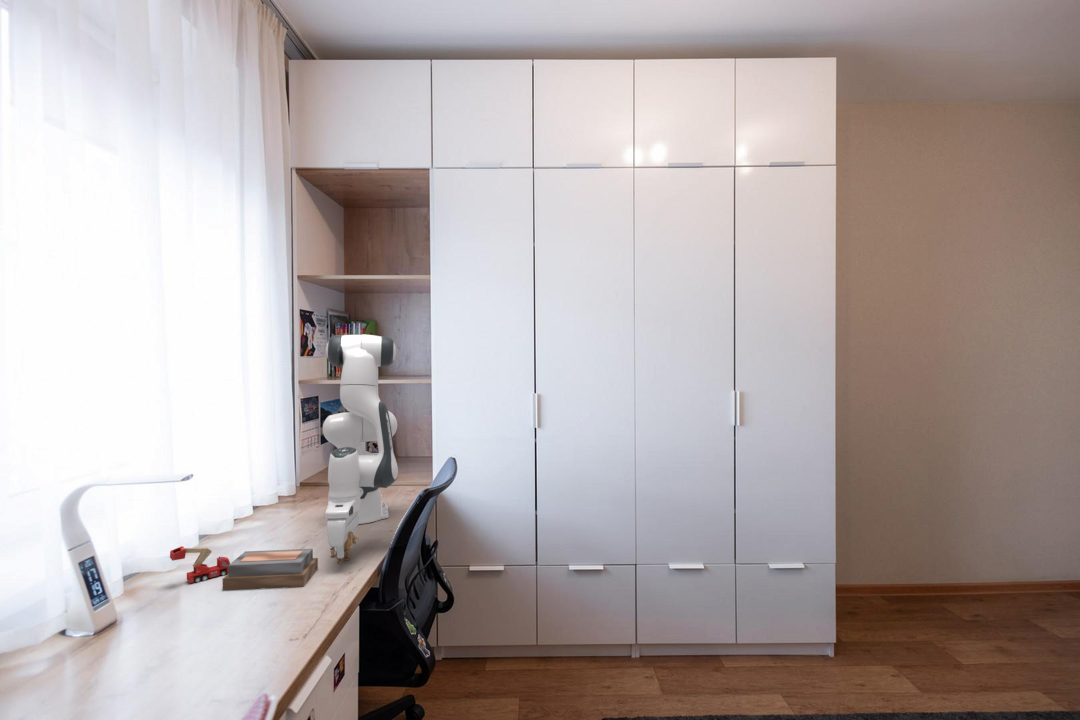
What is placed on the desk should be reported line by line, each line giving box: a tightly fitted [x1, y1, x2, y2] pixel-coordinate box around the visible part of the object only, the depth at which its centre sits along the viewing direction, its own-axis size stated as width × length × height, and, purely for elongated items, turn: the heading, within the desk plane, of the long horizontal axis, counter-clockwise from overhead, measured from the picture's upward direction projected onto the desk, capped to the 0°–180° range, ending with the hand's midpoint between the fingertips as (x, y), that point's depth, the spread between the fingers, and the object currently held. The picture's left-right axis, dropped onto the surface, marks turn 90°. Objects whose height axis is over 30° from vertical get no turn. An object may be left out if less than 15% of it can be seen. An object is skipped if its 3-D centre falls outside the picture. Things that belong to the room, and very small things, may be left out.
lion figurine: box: [329, 531, 359, 564], centre depth 163 cm, size 15×5×9 cm, turn 44°
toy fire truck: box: [169, 545, 231, 584], centre depth 148 cm, size 3×14×10 cm, turn 134°
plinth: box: [221, 548, 319, 591], centre depth 148 cm, size 12×20×6 cm, turn 95°
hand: (345, 551), depth 161 cm, fingers open, 8 cm apart
